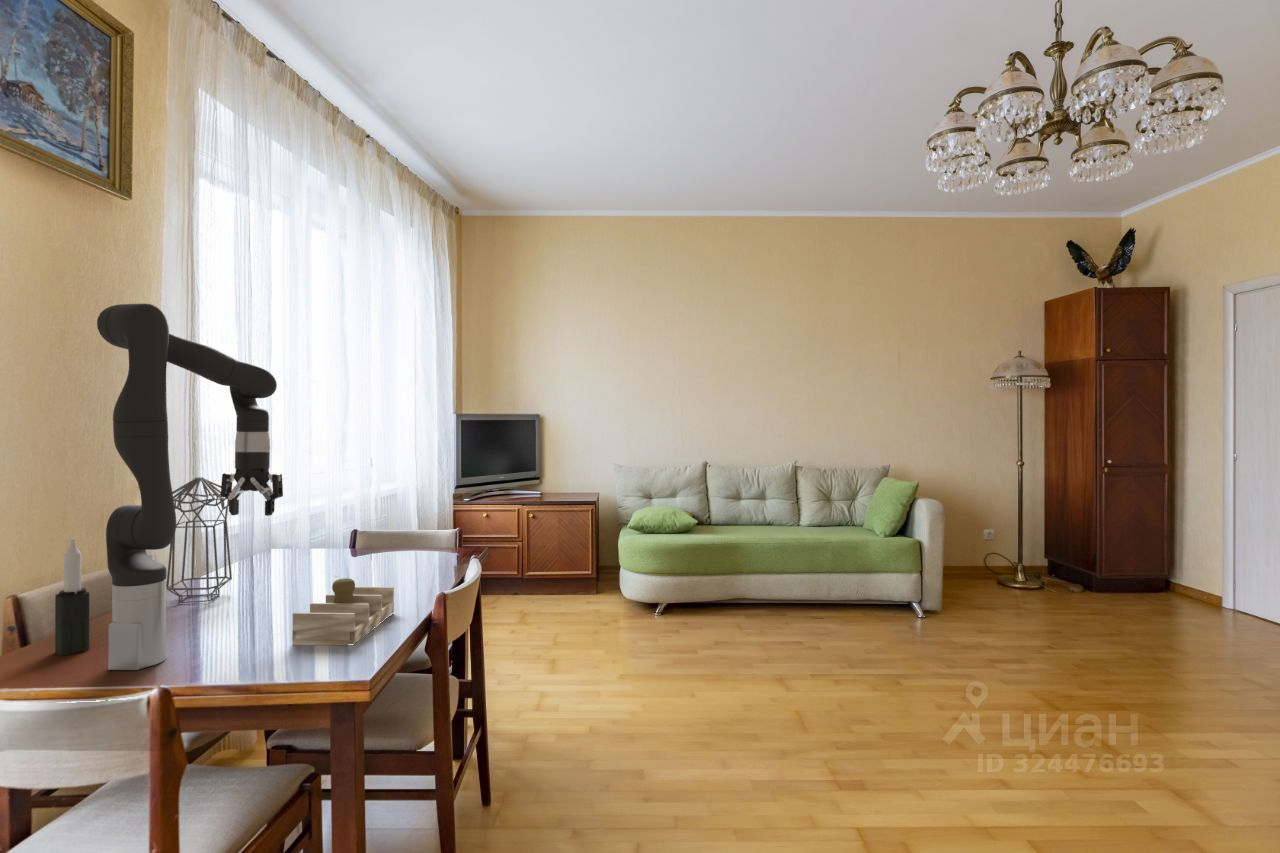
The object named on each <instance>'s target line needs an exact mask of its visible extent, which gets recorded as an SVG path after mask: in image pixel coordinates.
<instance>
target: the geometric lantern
mask: <svg viewBox="0 0 1280 853" xmlns="http://www.w3.org/2000/svg"><path fill="white" fill-rule="evenodd" d="M200 482H201V485H202V486H203V489H204V491H203V492H204V494H198V493H197V492H198V489H199V486H200ZM194 487H195V489H194ZM217 487H218V488H220V489H218V488H217ZM193 489H194V492H193V493H190V492H191V491H192V490H193ZM172 493H173V500H174V506H175V510H178V511H180V513H182V514H181V516H180V518H179V520H178V521H177V522H176V529H184V528H185V530H184V545H183V556H182V557H183V558H182V569H181V579H180V580H178V581H176V582H175V555H176V554H175V552H176V550H175V548H176V546H175V545H176V535H175V536H174V538H173V540H172V542H171V543H170V544H169V555H168V556H169V557H168V565H167V572H166V591H168V592H170V593H172V594H174V595H175V596H177V597H178V602H177V603H178V604H189V603H192V604H193V603H203V602H211V601H213V600H215V599H216V598H218V597H219V596H221V595H220V593H221V592H220V590H221V588H223V587H224V586H225V585H226V584H228V582H230V581H231V580H233V578H232V577H233V575H232V574H233V573H232V564H231V554H230V540H229V531H228V530H229V529H228V520H227V518H228V512H229V500H228V499H227V498H225V497H221V485H220V484H218V483H216V482H213V481H211V480H208V479H207V478H204V477H203V476H198V477H195V478H193V479H192V480H190V481H188V482H186V483H185V484H184V485H181V486H179V487H178V488H176V489H175V490H172ZM187 497H190V498H191V501H185V499H186V498H187ZM197 497H204V498H206V499H199V498H197ZM209 497H211V498H209ZM215 497H216V498H215ZM226 500H227V501H226ZM213 501H214V502H215V503H214V504H213V503H212V502H213ZM218 501H219V502H218ZM225 501H226V502H227V503H226V506H225ZM195 503H201V505H198V506H197V507H196V508H193V504H195ZM182 504H186V505H187V504H189V505H190V506H189V507H190V509H186V510H183V508H182ZM219 505H220V506H219ZM206 506H211V507H216V508H218V511H219V512H220V513H219V515H218V517H217V518H216V519H209V520H207V519H205V520H203V518H202V517H201V516H200V513H201V512H202V510H203V509H204V508H205V507H206ZM220 507H221V508H220ZM197 510H198V512H197ZM224 510H225V515H224V513H223V511H224ZM192 512H193V513H194V515H195V516H194V518H193V519H192V520H190V518H188V516H187V515H186V513H192ZM183 516H184V517H185V518H186V519H187V521H186V520H183V521H181V520H182V518H184V517H183ZM221 516H222V517H223V519H220V517H221ZM197 518H198V520H196V519H197ZM199 522H200V523H201V524H202V525H196V523H199ZM206 522H214V524H212V525H207V524H206ZM217 522H218V523H217ZM189 523H191V524H192V526H191V525H188V524H189ZM182 524H185V526H183V525H182ZM222 524H223V557H224V558H223V562H224V563H223V564H224V565H223V566H224V576H219V567H218V552H217V551H218V550H217V538H216V526H220V525H222ZM180 525H182V526H180ZM189 528H191V529H192V544H191V545H192V547H191V550H192V551H191V553H192V555H191V576H190V577H189V578H185V571H186V570H185V567H186V556H187V541H188V529H189ZM196 528H197V529H198V528H205V563H206V564H205V567H206V568H205V570H206V577H205V576H204V577H195V574H194V572H195V544H196V543H195V539H196V538H195V535H196ZM209 528H212V535H213V537H212V538H213V550H214V552H213V553H214V564H215V565H214V566H215V576H210V572H209V534H208V532H209V531H208V529H209ZM227 565H228V571H227ZM227 572H229V573H228V574H229V576H228V574H227ZM170 575H171V585H170ZM219 579H222V580H221V581H220V580H219ZM225 579H226V580H225ZM194 580H195V581H196V580H198V581H199V580H206V587H193V581H194ZM210 580H216V585H213V586H210ZM185 581H190V586H189V587H188V586H187V585H186V582H185ZM180 583H182V584H183V586H184V587H175V586H177V585H179V584H180ZM211 589H212V591H211V592H210V590H211ZM194 590H199V591H200V590H201V591H202V590H204V591H205V590H206V592H207V593H204V594H193V591H194ZM178 591H183V592H182V593H179V592H178ZM189 592H190V594H189ZM185 593H186V594H185ZM194 596H195V597H206V600H205V599H204V600H194V601H193V600H190V601H184V600H186V599H188V598H191V597H192V598H193V597H194ZM187 597H188V598H187ZM210 598H211V599H210Z"/></svg>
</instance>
